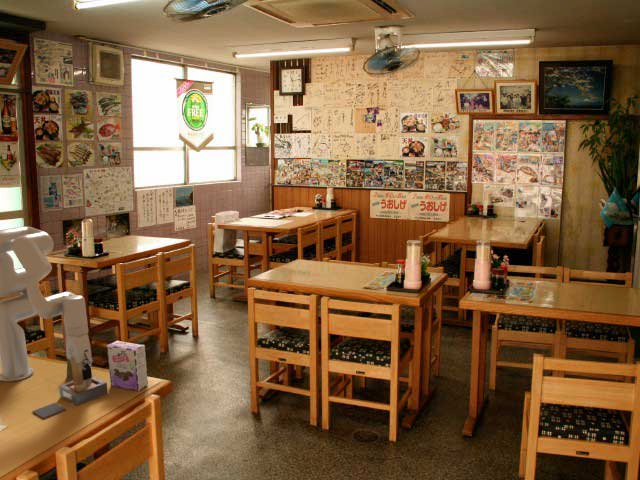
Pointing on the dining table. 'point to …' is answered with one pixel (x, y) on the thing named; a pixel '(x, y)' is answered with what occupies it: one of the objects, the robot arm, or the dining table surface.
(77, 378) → the skincare box
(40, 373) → the dining table surface
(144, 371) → the candy box
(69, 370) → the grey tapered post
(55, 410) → the coaster
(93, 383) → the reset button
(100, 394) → the box
